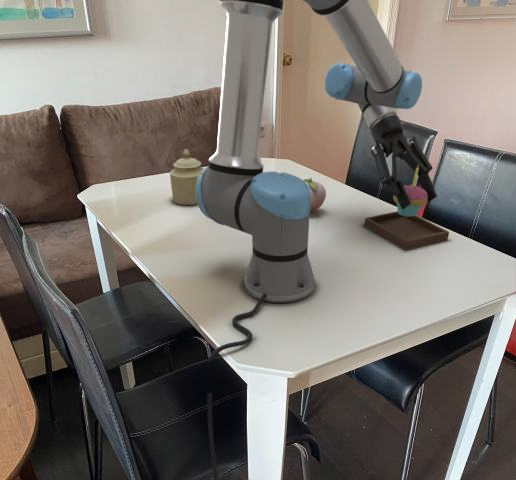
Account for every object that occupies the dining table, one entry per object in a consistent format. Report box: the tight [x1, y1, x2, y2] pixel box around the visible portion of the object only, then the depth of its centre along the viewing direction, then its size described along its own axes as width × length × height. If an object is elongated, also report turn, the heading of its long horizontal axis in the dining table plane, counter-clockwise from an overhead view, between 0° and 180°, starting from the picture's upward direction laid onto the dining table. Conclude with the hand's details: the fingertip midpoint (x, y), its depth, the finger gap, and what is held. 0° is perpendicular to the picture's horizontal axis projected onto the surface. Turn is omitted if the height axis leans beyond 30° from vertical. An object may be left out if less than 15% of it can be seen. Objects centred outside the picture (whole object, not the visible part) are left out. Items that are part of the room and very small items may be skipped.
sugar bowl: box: [169, 148, 205, 206], centre depth 153 cm, size 15×11×15 cm
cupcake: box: [392, 165, 428, 217], centre depth 127 cm, size 9×8×12 cm
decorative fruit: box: [302, 177, 327, 213], centre depth 144 cm, size 9×8×10 cm
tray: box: [363, 210, 450, 251], centre depth 133 cm, size 18×14×2 cm
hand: (419, 202), depth 126 cm, fingers closed on cupcake, 8 cm apart
